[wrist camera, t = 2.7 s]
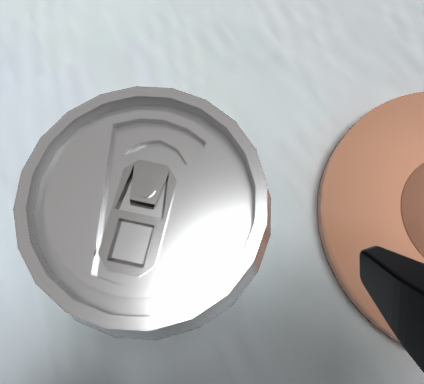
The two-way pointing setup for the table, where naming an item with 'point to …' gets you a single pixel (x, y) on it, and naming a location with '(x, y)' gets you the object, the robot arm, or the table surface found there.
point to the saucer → (374, 195)
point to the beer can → (143, 212)
